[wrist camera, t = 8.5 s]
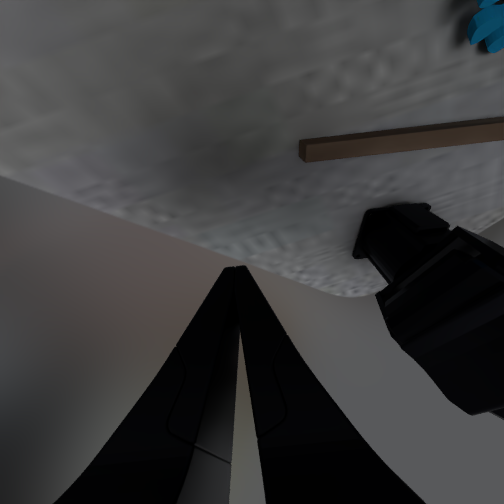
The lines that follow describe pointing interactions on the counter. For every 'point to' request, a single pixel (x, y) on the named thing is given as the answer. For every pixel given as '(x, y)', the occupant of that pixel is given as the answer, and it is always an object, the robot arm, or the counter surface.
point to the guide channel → (402, 139)
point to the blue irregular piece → (488, 25)
